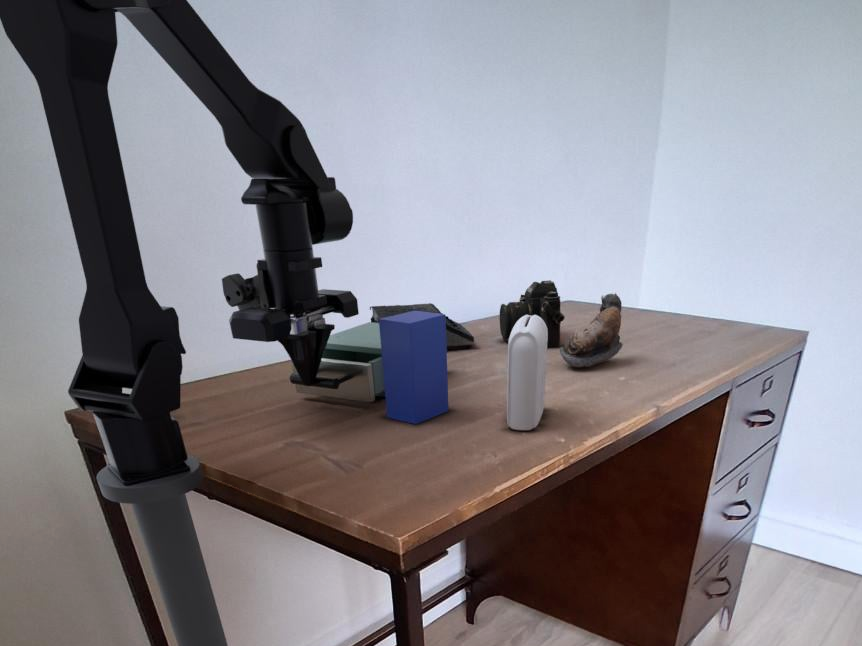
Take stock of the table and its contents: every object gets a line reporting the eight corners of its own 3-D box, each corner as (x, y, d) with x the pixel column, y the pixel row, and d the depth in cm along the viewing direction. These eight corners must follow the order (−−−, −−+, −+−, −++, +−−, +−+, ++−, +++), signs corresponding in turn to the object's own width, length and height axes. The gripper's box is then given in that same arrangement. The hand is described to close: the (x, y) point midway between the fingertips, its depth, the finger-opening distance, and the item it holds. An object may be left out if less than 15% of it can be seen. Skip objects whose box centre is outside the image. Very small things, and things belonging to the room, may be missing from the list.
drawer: (353, 411, 88) (349, 373, 85) (277, 400, 92) (271, 364, 89) (421, 377, 102) (419, 343, 99) (352, 369, 106) (348, 336, 103)
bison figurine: (583, 374, 106) (589, 304, 100) (549, 366, 110) (553, 299, 104) (627, 361, 113) (635, 295, 107) (594, 354, 117) (599, 290, 111)
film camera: (480, 335, 131) (479, 277, 125) (534, 328, 135) (536, 273, 129) (525, 353, 118) (527, 290, 112) (584, 346, 122) (589, 285, 116)
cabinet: (396, 398, 95) (392, 349, 92) (317, 388, 100) (311, 341, 96) (445, 373, 107) (443, 328, 103) (372, 365, 112) (368, 322, 108)
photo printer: (515, 407, 92) (517, 308, 85) (546, 408, 91) (551, 309, 84) (503, 431, 84) (504, 323, 76) (537, 433, 83) (542, 324, 76)
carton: (415, 424, 86) (409, 323, 79) (386, 417, 88) (378, 318, 81) (448, 411, 91) (445, 314, 84) (420, 404, 93) (415, 310, 86)
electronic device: (475, 349, 121) (475, 312, 117) (379, 355, 117) (376, 316, 114) (460, 335, 130) (460, 300, 126) (371, 340, 127) (368, 304, 123)
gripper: (282, 239, 88) (301, 363, 97) (177, 255, 75) (211, 397, 84) (353, 242, 85) (366, 370, 94) (256, 259, 71) (283, 408, 80)
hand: (309, 385), depth 88 cm, fingers closed
